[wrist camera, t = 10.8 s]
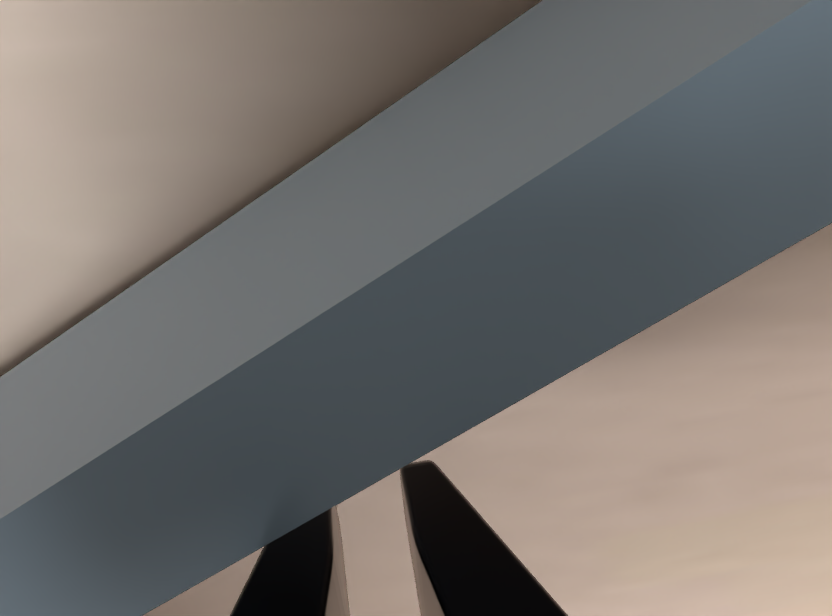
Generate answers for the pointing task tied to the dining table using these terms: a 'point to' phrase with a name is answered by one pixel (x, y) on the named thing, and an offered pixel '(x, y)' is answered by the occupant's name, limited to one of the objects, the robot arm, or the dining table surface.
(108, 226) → the dining table surface
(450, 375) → the gate
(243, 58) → the dining table surface
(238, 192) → the dining table surface
